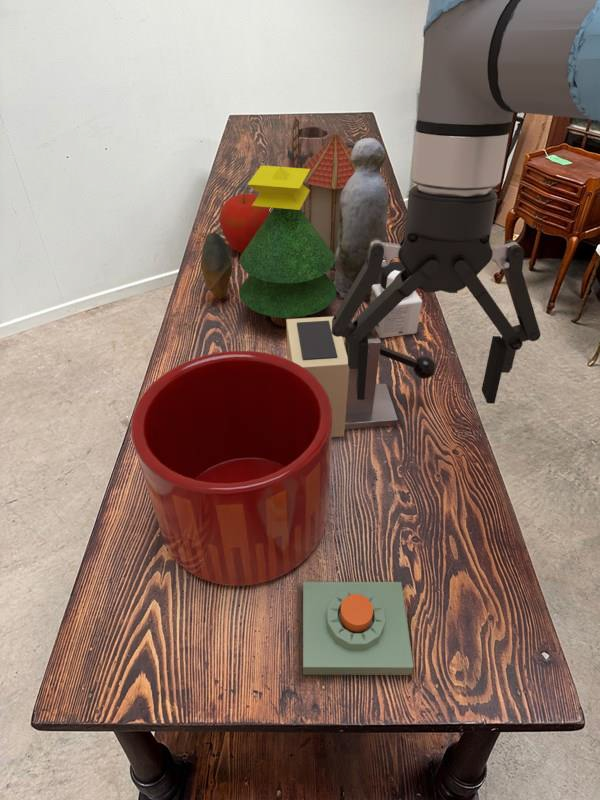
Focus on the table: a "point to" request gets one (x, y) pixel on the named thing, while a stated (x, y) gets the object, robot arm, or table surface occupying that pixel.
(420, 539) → the table surface
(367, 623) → the button
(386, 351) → the toaster lever
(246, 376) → the planter
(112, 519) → the table surface
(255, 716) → the table surface
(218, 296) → the decorative stone
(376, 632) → the control block
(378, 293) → the container
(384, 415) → the metal lever stand
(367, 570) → the table surface
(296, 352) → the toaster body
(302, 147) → the tankard
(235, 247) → the apple
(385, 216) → the sculpture
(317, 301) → the decorative tree
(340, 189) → the miniature windmill
